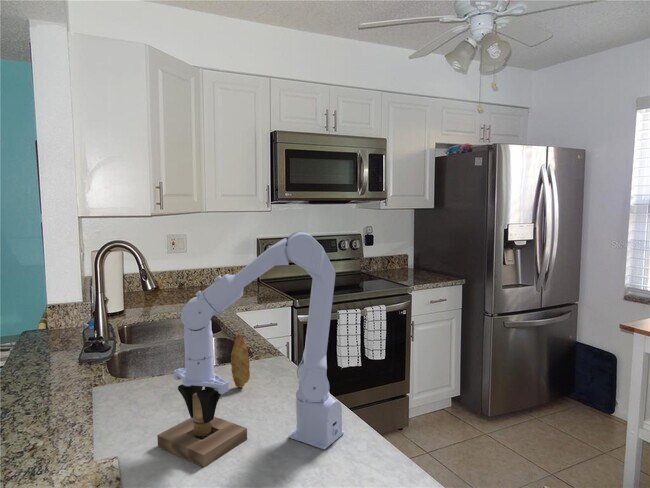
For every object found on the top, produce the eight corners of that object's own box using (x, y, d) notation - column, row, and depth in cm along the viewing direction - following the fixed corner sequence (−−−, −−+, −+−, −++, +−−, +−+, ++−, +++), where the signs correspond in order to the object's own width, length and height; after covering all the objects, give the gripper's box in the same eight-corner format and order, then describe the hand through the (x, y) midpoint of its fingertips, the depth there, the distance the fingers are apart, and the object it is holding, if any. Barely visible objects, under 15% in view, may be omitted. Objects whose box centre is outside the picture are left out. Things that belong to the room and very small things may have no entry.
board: (247, 439, 97) (246, 428, 97) (204, 467, 87) (203, 455, 87) (202, 422, 104) (201, 411, 104) (157, 446, 94) (157, 434, 94)
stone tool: (250, 385, 125) (249, 332, 123) (250, 388, 123) (248, 334, 121) (232, 386, 125) (230, 333, 123) (231, 389, 122) (229, 335, 121)
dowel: (215, 429, 96) (214, 393, 95) (202, 437, 93) (200, 400, 92) (203, 425, 98) (201, 389, 97) (189, 432, 95) (188, 396, 94)
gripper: (160, 354, 94) (163, 417, 96) (208, 368, 86) (211, 436, 88) (187, 345, 100) (190, 404, 102) (235, 357, 92) (237, 421, 94)
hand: (201, 418), depth 95 cm, fingers closed on dowel, 4 cm apart
